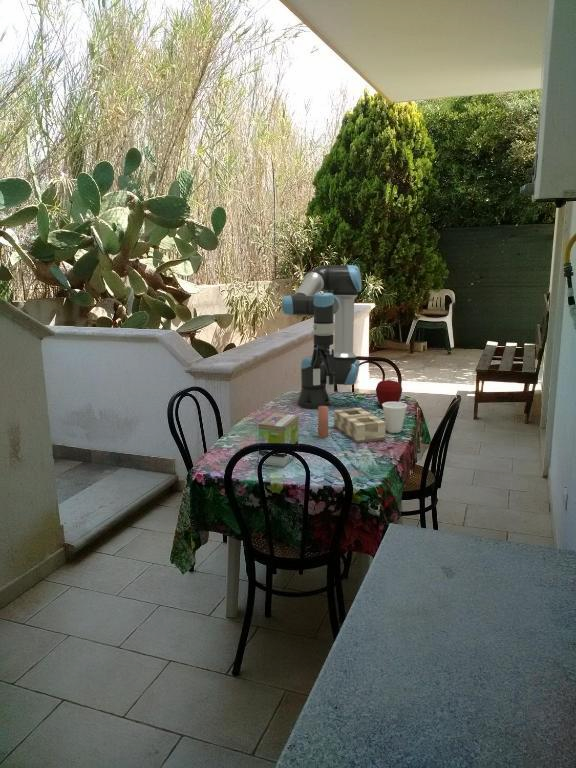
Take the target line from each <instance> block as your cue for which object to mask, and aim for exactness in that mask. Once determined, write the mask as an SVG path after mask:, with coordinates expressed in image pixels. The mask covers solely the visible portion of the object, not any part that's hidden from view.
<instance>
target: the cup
mask: <svg viewBox="0 0 576 768" xmlns="http://www.w3.org/2000/svg"><path fill="white" fill-rule="evenodd" d="M381 406H382V411H383V416H384V422H386V428H385V431H387V433H390V434H399V433H401V432H402V430H403V425H404V420H405V415H406V410H407V408H408V405H407V403H405V402H401V401H399V402H385V403H383V404H382V405H381Z"/></svg>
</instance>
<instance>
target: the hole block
mask: <svg viewBox="0 0 576 768" xmlns="http://www.w3.org/2000/svg"><path fill="white" fill-rule="evenodd" d="M333 428H335V429H336V430H337V431H338V432H340V431H341V433H342V434H343V435H345V436H347V437H348V438H349V439H350V440H351V441H353V442H355V443H356V444H360V443H369V442H376V441H383V440H386V422H385V420H382V419H381V418H379V417H377V416H375V415H374V414H372V413H371V412H368V411H367V410H365V409H363V408H362V407H357V408H356V407H355V408H347V409H337V410H333Z"/></svg>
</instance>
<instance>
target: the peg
mask: <svg viewBox="0 0 576 768" xmlns="http://www.w3.org/2000/svg"><path fill="white" fill-rule="evenodd" d="M319 437H320V438H319ZM328 437H329V406H328V407H327V406H319V407H318V409H317V438H319V439H327V438H328Z"/></svg>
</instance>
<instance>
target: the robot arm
mask: <svg viewBox="0 0 576 768" xmlns="http://www.w3.org/2000/svg"><path fill="white" fill-rule="evenodd" d="M362 284H363V283H362V275H361V270H360V268H359V266H357V265H352V264H340V265H339V264H334V265H333V264H331V265H330V264H329V265H328V264H324V265H321V266H317V267H315V268H313V269H311V270H309V271H308V272H307V273H306V274H305V275H304V276H303V279H302V283H301V285H299V287H298V288H297V289H296V291H295V292H294V293H293V294H292V295H284V296H283V297H282V300H281V310H282V313H283V314H284V315H288V316H290V315H291V316H313V325H312V328H313V351H312V355H310V356H306V357H303V358H302V360H301V363H300V364H301V366H300V370H301V371H300V373H301V374H300V377H301V379H300V380H301V382H300V383H301V389H300V392H299V395H298V399H297V406H298V407H300V408H303V409H311V410H315V409H316V410H318V407H319V406H327V407H328V408H329V407H330V406H331V405H330V404H331V403H330V401H331V400H330V396H329V395H328V394H332V393H335V385H340V386H341V385H342V386H353V385H355V384H356V383H357V380H358V375H359V371H360V360H359V359H357V355H356V354H355V353H354V327H355V326H354V323H355V299H356V298H357V297H358V296H359V293H360V292H361V291H362V288H363V287H362V286H363V285H362ZM333 334H334V335H333ZM332 345H333V348H331V347H330V346H332Z"/></svg>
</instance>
